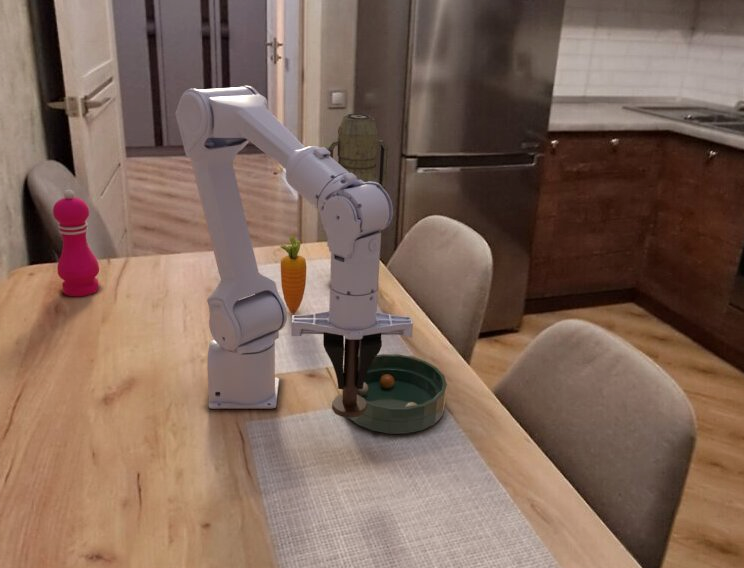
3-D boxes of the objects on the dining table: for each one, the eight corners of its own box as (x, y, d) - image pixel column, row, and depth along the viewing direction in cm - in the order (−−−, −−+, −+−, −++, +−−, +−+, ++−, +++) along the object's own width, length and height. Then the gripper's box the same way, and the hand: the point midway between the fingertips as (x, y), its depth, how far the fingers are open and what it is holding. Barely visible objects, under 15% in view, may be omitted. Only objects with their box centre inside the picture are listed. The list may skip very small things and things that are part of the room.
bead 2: (381, 392, 102) (376, 380, 101) (383, 385, 104) (379, 373, 103) (395, 389, 101) (390, 377, 100) (397, 382, 103) (392, 369, 102)
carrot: (301, 321, 123) (302, 244, 117) (275, 317, 124) (275, 240, 118) (310, 310, 127) (311, 235, 122) (285, 306, 128) (285, 232, 122)
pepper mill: (63, 284, 131) (49, 184, 123) (103, 282, 133) (92, 184, 126) (57, 299, 125) (42, 195, 117) (99, 296, 127) (87, 194, 119)
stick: (331, 417, 83) (335, 318, 78) (332, 398, 87) (335, 302, 82) (367, 418, 84) (372, 319, 78) (365, 398, 88) (370, 303, 82)
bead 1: (368, 399, 99) (353, 399, 99) (369, 391, 101) (354, 391, 101) (367, 385, 98) (352, 386, 98) (368, 378, 100) (354, 378, 100)
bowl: (342, 437, 91) (343, 409, 89) (340, 378, 105) (341, 353, 103) (451, 436, 93) (454, 408, 91) (435, 379, 107) (437, 354, 105)
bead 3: (401, 417, 94) (407, 404, 94) (402, 410, 96) (407, 397, 96) (416, 422, 95) (421, 409, 94) (416, 415, 97) (421, 402, 96)
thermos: (317, 280, 141) (320, 112, 128) (369, 274, 146) (377, 111, 132) (331, 297, 133) (336, 120, 120) (385, 290, 138) (396, 119, 125)
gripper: (290, 299, 74) (290, 402, 80) (418, 301, 76) (410, 402, 81) (293, 274, 81) (293, 372, 86) (411, 277, 83) (404, 372, 88)
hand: (349, 384), depth 84 cm, fingers closed on stick, 2 cm apart
